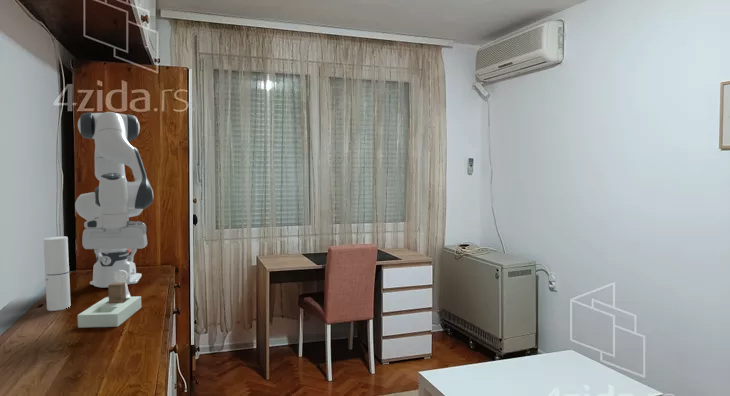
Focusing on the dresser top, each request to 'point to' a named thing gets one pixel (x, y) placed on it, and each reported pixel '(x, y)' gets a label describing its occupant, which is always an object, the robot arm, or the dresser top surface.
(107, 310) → the socket board
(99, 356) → the dresser top surface
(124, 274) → the sitting furry creature
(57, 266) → the cylindrical container
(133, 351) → the dresser top surface
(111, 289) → the wood grain block
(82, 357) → the dresser top surface
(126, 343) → the dresser top surface
